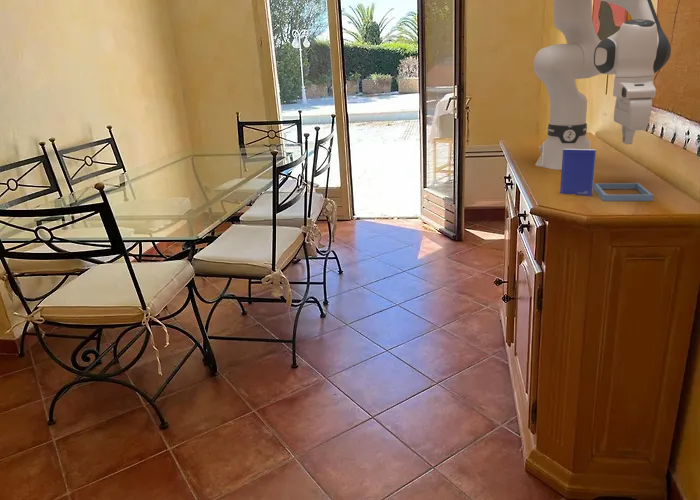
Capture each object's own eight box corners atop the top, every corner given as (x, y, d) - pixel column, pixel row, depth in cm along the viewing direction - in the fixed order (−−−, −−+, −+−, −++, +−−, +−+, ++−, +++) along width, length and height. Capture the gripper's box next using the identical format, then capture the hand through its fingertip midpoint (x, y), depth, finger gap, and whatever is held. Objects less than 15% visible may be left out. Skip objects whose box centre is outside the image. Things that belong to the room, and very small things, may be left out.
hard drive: (591, 196, 147) (595, 150, 143) (559, 194, 151) (562, 149, 147) (592, 194, 148) (596, 149, 144) (560, 193, 152) (563, 148, 148)
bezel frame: (593, 188, 154) (594, 183, 154) (638, 188, 151) (639, 182, 151) (603, 200, 142) (604, 195, 141) (652, 200, 139) (653, 195, 138)
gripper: (610, 86, 148) (605, 138, 152) (629, 91, 129) (623, 150, 133) (635, 85, 146) (630, 137, 151) (658, 90, 127) (651, 149, 132)
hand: (627, 143), depth 142 cm, fingers closed
